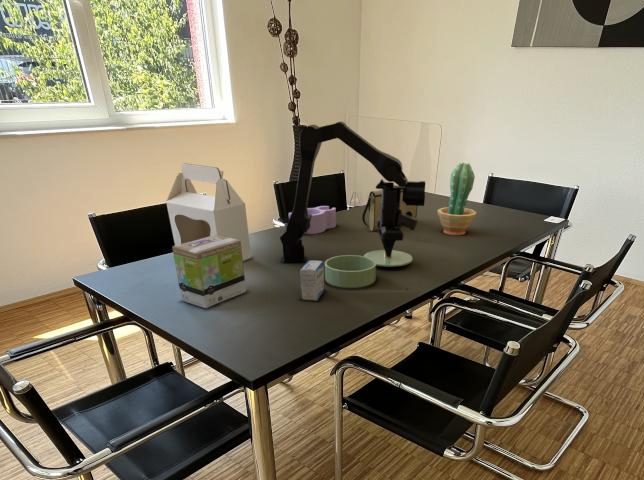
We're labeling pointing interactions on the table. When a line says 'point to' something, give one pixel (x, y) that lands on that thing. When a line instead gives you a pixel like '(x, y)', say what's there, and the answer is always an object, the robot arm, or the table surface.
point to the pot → (350, 271)
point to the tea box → (209, 270)
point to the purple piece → (321, 219)
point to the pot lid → (389, 258)
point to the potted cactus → (458, 201)
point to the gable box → (206, 209)
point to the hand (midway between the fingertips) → (388, 255)
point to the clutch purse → (375, 211)
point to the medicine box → (312, 280)
